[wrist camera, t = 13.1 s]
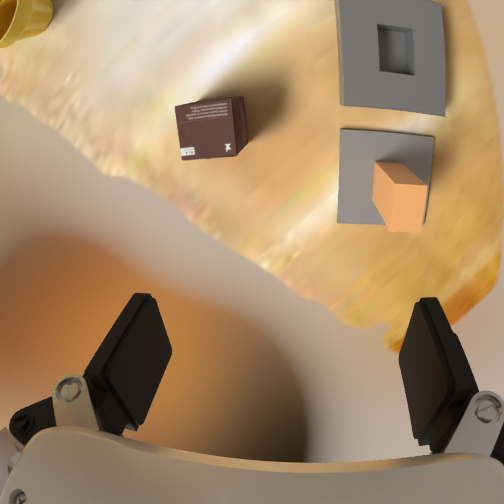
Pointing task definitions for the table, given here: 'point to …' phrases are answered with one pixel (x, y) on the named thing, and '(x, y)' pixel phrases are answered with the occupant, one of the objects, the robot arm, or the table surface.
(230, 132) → the box
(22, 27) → the plant pot
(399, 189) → the plug
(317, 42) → the table surface
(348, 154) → the mat
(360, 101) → the socket block
